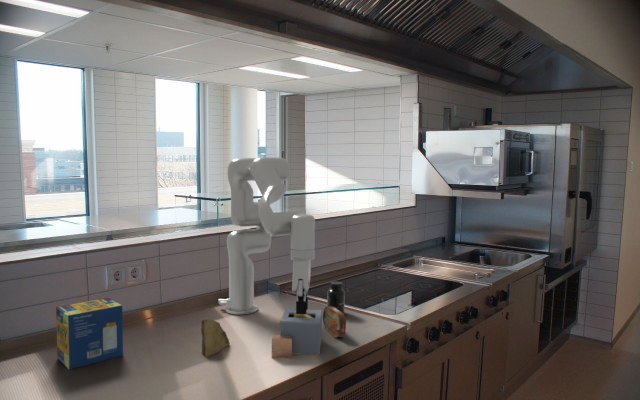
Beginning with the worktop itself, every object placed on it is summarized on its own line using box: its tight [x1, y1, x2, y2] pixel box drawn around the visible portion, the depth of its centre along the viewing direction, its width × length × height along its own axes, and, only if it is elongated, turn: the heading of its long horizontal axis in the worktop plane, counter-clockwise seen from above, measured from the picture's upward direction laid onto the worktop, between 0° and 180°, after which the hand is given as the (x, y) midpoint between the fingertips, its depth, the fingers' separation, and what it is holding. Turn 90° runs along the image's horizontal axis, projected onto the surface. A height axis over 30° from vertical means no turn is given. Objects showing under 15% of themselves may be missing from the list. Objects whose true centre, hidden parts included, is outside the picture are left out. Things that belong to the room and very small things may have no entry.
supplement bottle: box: [326, 281, 346, 315], centre depth 185 cm, size 7×7×12 cm
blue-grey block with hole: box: [279, 308, 323, 355], centre depth 151 cm, size 12×12×10 cm
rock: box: [200, 318, 230, 358], centre depth 147 cm, size 11×9×10 cm
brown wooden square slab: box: [271, 334, 293, 359], centre depth 143 cm, size 2×6×6 cm, turn 87°
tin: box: [322, 305, 347, 338], centre depth 163 cm, size 15×3×8 cm, turn 21°
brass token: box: [293, 312, 314, 318], centre depth 151 cm, size 2×6×6 cm
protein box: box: [55, 297, 124, 371], centre depth 140 cm, size 10×15×16 cm
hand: (301, 311), depth 150 cm, fingers open, 3 cm apart
